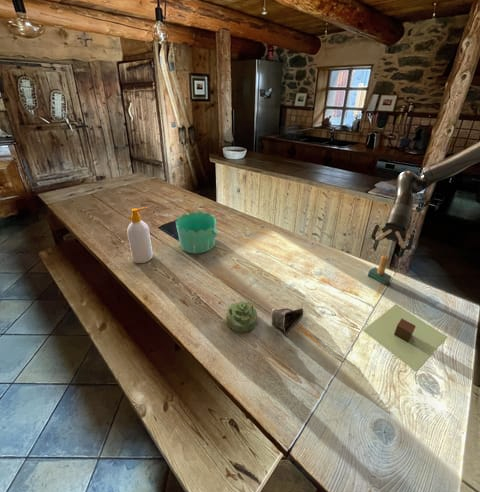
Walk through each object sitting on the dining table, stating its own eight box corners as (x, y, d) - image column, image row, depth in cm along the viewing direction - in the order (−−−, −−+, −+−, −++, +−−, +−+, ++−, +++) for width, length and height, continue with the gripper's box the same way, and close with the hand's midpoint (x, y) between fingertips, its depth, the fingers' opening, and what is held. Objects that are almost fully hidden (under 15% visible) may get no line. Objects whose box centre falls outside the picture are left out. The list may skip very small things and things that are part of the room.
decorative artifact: (234, 304, 94) (221, 325, 85) (234, 288, 91) (220, 309, 82) (261, 313, 90) (249, 336, 82) (262, 297, 87) (250, 320, 79)
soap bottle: (155, 260, 116) (148, 211, 105) (132, 265, 112) (122, 215, 102) (153, 250, 123) (146, 203, 113) (132, 254, 120) (122, 206, 109)
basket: (171, 242, 129) (168, 218, 123) (202, 229, 140) (200, 207, 135) (192, 260, 116) (191, 234, 111) (225, 245, 127) (224, 221, 122)
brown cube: (398, 327, 85) (401, 318, 83) (412, 335, 82) (415, 325, 80) (393, 334, 82) (397, 325, 81) (407, 342, 80) (411, 333, 78)
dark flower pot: (287, 304, 95) (269, 295, 87) (305, 309, 90) (288, 301, 82) (279, 331, 91) (260, 325, 83) (298, 339, 87) (279, 333, 79)
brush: (373, 273, 110) (379, 250, 105) (389, 282, 105) (397, 259, 100) (367, 276, 108) (373, 253, 103) (384, 286, 103) (391, 263, 98)
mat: (395, 305, 94) (395, 303, 94) (446, 338, 82) (447, 336, 82) (361, 331, 84) (362, 330, 84) (415, 373, 72) (415, 371, 72)
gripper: (417, 225, 107) (406, 262, 103) (379, 215, 114) (367, 250, 111) (420, 218, 100) (408, 258, 97) (379, 208, 108) (367, 245, 104)
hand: (386, 253), depth 104 cm, fingers open, 8 cm apart
